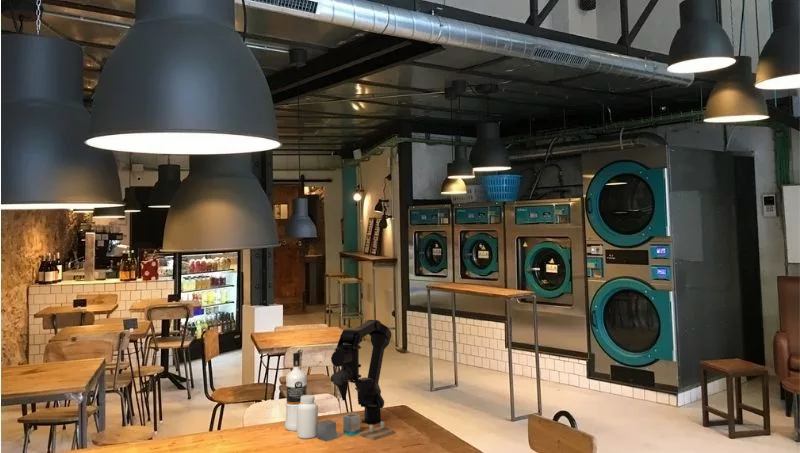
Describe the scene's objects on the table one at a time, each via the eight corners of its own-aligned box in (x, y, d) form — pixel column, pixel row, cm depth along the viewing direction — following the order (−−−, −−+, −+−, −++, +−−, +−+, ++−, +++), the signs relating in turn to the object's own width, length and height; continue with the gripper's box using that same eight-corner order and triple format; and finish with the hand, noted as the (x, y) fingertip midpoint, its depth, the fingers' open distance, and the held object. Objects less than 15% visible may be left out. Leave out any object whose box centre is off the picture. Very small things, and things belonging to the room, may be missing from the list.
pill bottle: (321, 434, 219) (321, 395, 220) (310, 440, 212) (310, 400, 213) (304, 431, 223) (304, 393, 223) (292, 437, 215) (292, 397, 216)
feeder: (317, 438, 214) (317, 422, 214) (333, 433, 220) (333, 417, 220) (325, 441, 210) (325, 425, 211) (342, 436, 216) (342, 420, 217)
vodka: (307, 423, 233) (307, 350, 234) (309, 430, 224) (308, 354, 225) (284, 425, 230) (284, 351, 232) (285, 432, 221) (285, 355, 223)
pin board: (359, 435, 217) (359, 424, 217) (380, 428, 225) (379, 418, 225) (374, 440, 211) (374, 428, 212) (394, 433, 219) (394, 422, 220)
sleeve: (343, 433, 219) (343, 415, 219) (352, 431, 222) (352, 413, 223) (351, 436, 216) (351, 417, 216) (360, 433, 219) (360, 415, 220)
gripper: (320, 362, 221) (320, 402, 220) (352, 368, 208) (352, 411, 208) (341, 357, 229) (341, 396, 228) (373, 363, 216) (374, 405, 216)
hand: (351, 402), depth 220 cm, fingers open, 9 cm apart
